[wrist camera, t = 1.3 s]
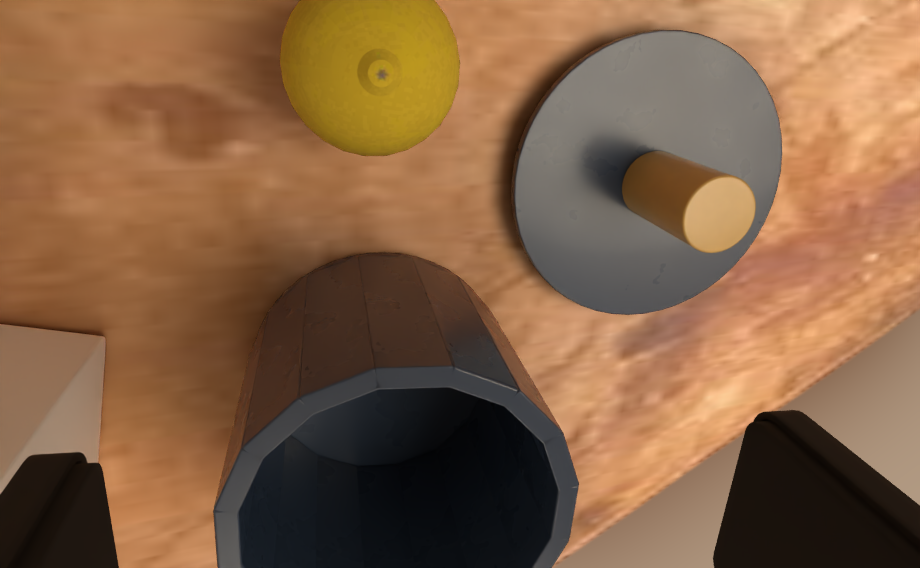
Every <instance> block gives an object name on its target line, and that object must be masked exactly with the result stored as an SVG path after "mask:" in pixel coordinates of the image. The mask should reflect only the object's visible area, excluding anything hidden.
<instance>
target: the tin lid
mask: <svg viewBox="0 0 920 568" xmlns="http://www.w3.org/2000/svg"><path fill="white" fill-rule="evenodd" d="M781 160H782V138H781V130H780V124H779V118H778V115H777V111H776V108H775V105H774V102H773V99H772V97H771V95H770V93H769V91H768V89H767V87H766V85H765V83H764V82H763V81H762V79H761V78H760V76H759V75H758V73H757V72H756V70H755V69H754V68H753V67H752V66H751V65H750V64H749V63H748V62H747V61H746V60H745V59H744V58H743V57H742V56H741V55H739V54H738V53H737V52H736V51H734V50H733V49H732V48H730V47H728V46H727V45H725V44H723V43H721V42H719V41H717V40H716V39H713V38H710V37H707V36H704V35H701V34H698V33H693V32H687V31H681V30H654V31H646V32H639V33H635V34H631V35H628V36H624V37H621V38H618V39H616V40H614V41H611V42H609V43H607V44H604V45H602V46H600V47H599V48H597V49H595V50H594V51H592V52H590V53H589V54H587V55H585V56H584V57H582V58H581V59H580V60H579V61H577V62H576V63H575V64H574V65H572V66H571V67H570V68H569V69H567V70H566V71H565V72H564V73H563V74H562V76H561V77H560V78H559V79H558V80H557V81H556V82H555V83H554V84H553V85H552V86H551V87H550V89H549V90H548V91H547V93H546V94H545V95H544V97H543V98H542V99H541V100H540V102H539V104H538V105H537V107H536V109H535V110H534V112H533V114H532V116H531V117H530V119H529V121H528V123H527V126H526V128H525V130H524V133H523V135H522V137H521V140H520V143H519V147H518V150H517V153H516V157H515V162H514V168H513V174H512V188H511V199H512V211H513V217H514V222H515V226H516V231H517V233H518V236H519V239H520V241H521V244H522V247H523V249H524V251H525V252H526V254H527V256H528V258H529V260H530V262H531V263H532V264H533V266H534V267H535V268H536V270H537V271H538V272H539V274H540V275H541V276H542V277H543V278H544V279H545V280H546V281H547V282H548V283H549V284H550V285H551V286H552V287H553V288H554V289H555V290H557V291H558V292H559V293H561V294H562V295H563V296H565V297H566V298H568V299H570V300H572V301H573V302H575V303H577V304H579V305H581V306H584V307H587V308H590V309H593V310H596V311H600V312H605V313H610V314H625V315H630V314H644V313H649V312H654V311H659V310H663V309H666V308H669V307H672V306H675V305H677V304H680V303H682V302H684V301H686V300H688V299H690V298H692V297H694V296H696V295H697V294H699V293H701V292H702V291H704V290H706V289H707V288H708V287H710V286H711V285H712V284H714V283H715V282H716V281H718V280H719V279H720V278H721V277H723V276H724V275H725V274H726V273H727V272H728V271H729V270H730V269H731V268H732V267H733V266H734V265H735V264H736V263H737V262H738V261H739V259H740V258H741V257H742V256H743V255H744V254H745V252H746V251H747V250H748V248H749V247H750V245H751V244H752V243H753V241H754V240H755V238H756V237H757V235H758V233H759V231H760V230H761V228H762V226H763V224H764V222H765V220H766V218H767V216H768V213H769V211H770V209H771V206H772V203H773V200H774V197H775V194H776V191H777V187H778V182H779V177H780V172H781Z"/></svg>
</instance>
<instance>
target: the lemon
mask: <svg viewBox="0 0 920 568" xmlns="http://www.w3.org/2000/svg"><path fill="white" fill-rule="evenodd" d="M280 65H281V72H282V79H283V85H284V87H285V90H286V92H287V95H288V97H289V100H290V102H291V104H292V107H293V108H294V109H295V111H296V112H297V114H298V115H299V116H300V118H301V119H302V121H303V122H304V123H305V125H306V126H307V127H308V128H310V129H311V130H312V131H313V132H314V133H315V134H316V135H318V136H319V137H320V138H321V139H322V140H323V141H325V142H327V143H329V144H331V145H333V146H335V147H337V148H339V149H341V150H343V151H346V152H350V153H354V154H358V155H363V156H387V155H391V154H394V153H398V152H401V151H405V150H408V149H409V148H411V147H413V146H415V145H416V144H418V143H420V142H422V141H423V140H425V139H426V138H427V137H428V136H429V135H430V134H431V133H432V132H433V131H434V130H435V129H436V128H437V127H438V126H439V125H440V124H441V123H442V121H443V119H444V118H445V116H446V115H447V113H448V111H449V110H450V108H451V106H452V103H453V100H454V97H455V94H456V91H457V88H458V82H459V69H460V60H459V54H458V48H457V42H456V38H455V36H454V33H453V31H452V28H451V26H450V24H449V21H448V19H447V17H446V15H445V14H444V13H443V11H442V10H441V9H440V7H439V6H438V4H437V3H436V2H435V0H300V1H299V2H298V4H297V5H296V7H295V8H294V9H293V11H292V12H291V14H290V16H289V19H288V22H287V25H286V27H285V30H284V33H283V35H282V43H281V52H280Z"/></svg>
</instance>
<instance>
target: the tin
mask: <svg viewBox="0 0 920 568" xmlns="http://www.w3.org/2000/svg"><path fill="white" fill-rule="evenodd" d="M578 485H579V482H578V479H577V476H576V472H575V469H574V466H573V463H572V460H571V456H570V453H569V450H568V447H567V443H566V440H565V437H564V434H563V432H562V430H561V428H560V427H559V425H558V423H557V422H556V420H555V418H554V417H553V415H552V413H551V412H550V410H549V408H548V406H547V405H546V403H545V401H544V400H543V398H542V396H541V395H540V393H539V391H538V390H537V388H536V386H535V385H534V383H533V381H532V380H531V378H530V376H529V375H528V373H527V371H526V369H525V368H524V366H523V364H522V363H521V361H520V359H519V358H518V356H517V354H516V353H515V351H514V349H513V348H512V346H511V344H510V343H509V341H508V339H507V338H506V336H505V334H504V332H503V331H502V329H501V327H500V326H499V324H498V322H497V321H496V319H495V317H494V316H493V314H492V312H491V311H490V309H489V308H488V307H487V306H486V305H485V303H484V302H483V301H482V300H481V299H480V298H479V297H478V295H477V294H476V293H475V292H474V291H473V289H472V288H471V287H470V286H468V285H467V284H466V283H465V282H464V281H463V280H462V279H461V278H460V277H458V276H456V275H455V274H453V273H452V272H450V271H449V270H448V269H445V268H443V267H441V266H439V265H437V264H435V263H433V262H431V261H428V260H425V259H422V258H419V257H415V256H410V255H405V254H397V253H366V254H360V255H355V256H349V257H346V258H343V259H339V260H336V261H333V262H330V263H328V264H326V265H324V266H321V267H319V268H317V269H315V270H314V271H312V272H310V273H309V274H307V275H305V276H304V277H302V278H301V279H299V280H298V281H297V282H296V283H294V284H293V285H292V286H291V287H290V288H288V289H287V290H286V291H285V292H284V293H283V295H282V296H281V297H280V298H279V299H278V300H277V301H276V302H275V304H274V305H273V306H272V308H271V309H270V310H269V312H268V313H267V315H266V317H265V319H264V321H263V323H262V325H261V326H260V329H259V331H258V334H257V337H256V340H255V343H254V345H253V347H252V349H251V352H250V354H249V358H248V363H247V367H246V371H245V376H244V380H243V384H242V389H241V393H240V397H239V402H238V406H237V410H236V414H235V419H234V423H233V427H232V432H231V436H230V440H229V445H228V449H227V453H226V458H225V462H224V466H223V471H222V475H221V479H220V483H219V488H218V492H217V496H216V501H215V505H214V510H213V513H214V527H215V540H216V554H217V567H218V568H552V566H553V565H554V563H555V562H556V560H557V559H558V557H559V556H560V554H561V552H562V551H563V549H564V548H565V546H566V545H567V543H568V541H569V538H570V533H571V527H572V521H573V516H574V510H575V504H576V498H577V493H578Z"/></svg>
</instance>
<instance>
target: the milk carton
mask: <svg viewBox="0 0 920 568" xmlns="http://www.w3.org/2000/svg"><path fill="white" fill-rule="evenodd" d="M105 351H106V340H105V337H103V336H97V335H88V334H80V333H72V332H63V331H55V330H46V329H38V328H29V327H21V326H13V325H4V324H0V494H1V493H2V491H3V490H4V488H5V487H6V486H7V484H8V483H9V481H10V480H11V479H12V477H13V476H14V474H15V473H16V472H17V470H18V469H19V467H20V466H21V464H22V463H23V462H24V461H25V460H26V458H27V457H28V456H31V455H36V454H53V453H71V452H81V453H83V454H84V455H85V457H86V459H87V463H98V459H99V444H100V428H101V413H102V398H103V382H104V367H105Z"/></svg>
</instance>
